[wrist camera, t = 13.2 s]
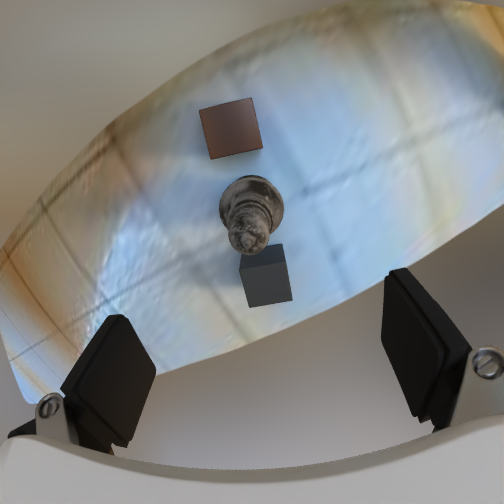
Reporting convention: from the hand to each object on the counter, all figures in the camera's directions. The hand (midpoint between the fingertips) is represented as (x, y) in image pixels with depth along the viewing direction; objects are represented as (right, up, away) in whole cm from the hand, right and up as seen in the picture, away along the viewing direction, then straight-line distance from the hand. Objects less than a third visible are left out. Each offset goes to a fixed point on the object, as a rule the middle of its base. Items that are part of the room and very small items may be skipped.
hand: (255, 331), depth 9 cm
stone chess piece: (0, +8, +19) cm, 21 cm away
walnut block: (-2, +15, +16) cm, 22 cm away
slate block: (+1, +1, +22) cm, 22 cm away
